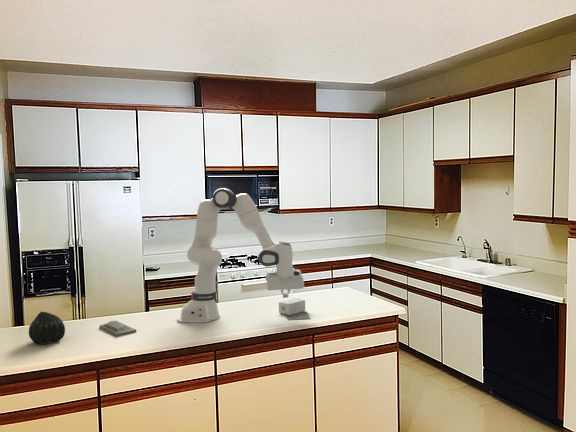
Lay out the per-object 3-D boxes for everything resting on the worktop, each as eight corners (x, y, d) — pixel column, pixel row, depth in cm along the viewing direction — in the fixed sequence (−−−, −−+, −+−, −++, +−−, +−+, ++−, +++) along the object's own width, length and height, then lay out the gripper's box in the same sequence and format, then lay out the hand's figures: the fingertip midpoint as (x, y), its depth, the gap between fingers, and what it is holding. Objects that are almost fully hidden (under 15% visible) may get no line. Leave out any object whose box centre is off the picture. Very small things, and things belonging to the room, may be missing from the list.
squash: (67, 332, 214) (61, 304, 221) (30, 340, 206) (26, 311, 213) (66, 345, 224) (61, 318, 231) (31, 354, 216) (26, 325, 223)
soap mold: (116, 338, 223) (116, 331, 222) (98, 329, 237) (98, 322, 236) (136, 333, 230) (136, 326, 230) (118, 324, 244) (117, 318, 244)
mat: (287, 320, 244) (287, 319, 243) (285, 313, 256) (285, 312, 256) (310, 319, 245) (310, 318, 245) (306, 311, 258) (306, 311, 258)
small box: (288, 315, 250) (305, 311, 258) (288, 303, 249) (305, 299, 258) (278, 313, 255) (295, 308, 264) (278, 301, 255) (295, 297, 264)
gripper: (265, 274, 244) (266, 299, 246) (304, 272, 246) (304, 297, 248) (265, 271, 251) (265, 296, 252) (302, 270, 253) (303, 294, 254)
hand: (285, 297), depth 250 cm, fingers closed
